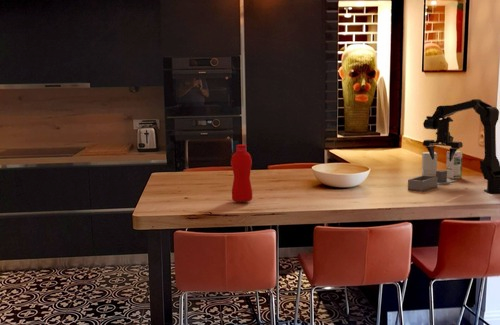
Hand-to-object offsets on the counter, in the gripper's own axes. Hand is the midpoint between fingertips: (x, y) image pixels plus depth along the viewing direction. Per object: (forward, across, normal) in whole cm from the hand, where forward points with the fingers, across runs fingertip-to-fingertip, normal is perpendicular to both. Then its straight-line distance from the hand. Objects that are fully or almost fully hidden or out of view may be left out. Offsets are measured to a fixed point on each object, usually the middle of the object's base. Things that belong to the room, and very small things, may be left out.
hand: (441, 160), depth 266 cm
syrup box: (+12, 0, -17) cm, 21 cm away
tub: (+11, 0, +21) cm, 24 cm away
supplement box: (+12, +15, -18) cm, 26 cm away
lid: (+12, 0, 0) cm, 12 cm away
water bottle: (+12, +49, +96) cm, 109 cm away
